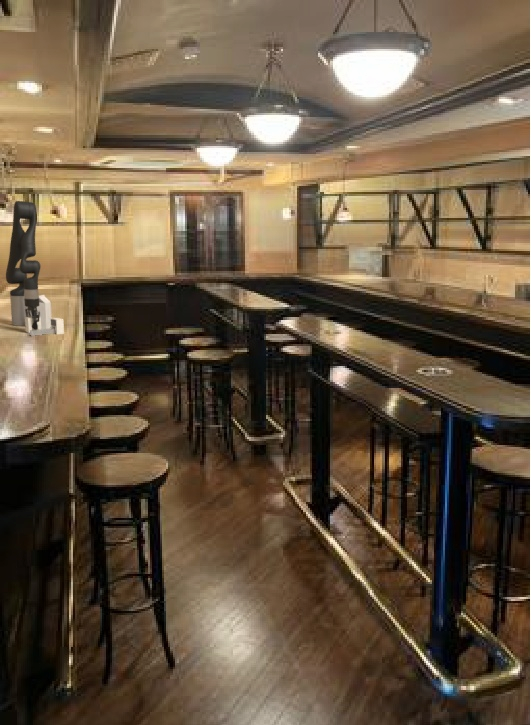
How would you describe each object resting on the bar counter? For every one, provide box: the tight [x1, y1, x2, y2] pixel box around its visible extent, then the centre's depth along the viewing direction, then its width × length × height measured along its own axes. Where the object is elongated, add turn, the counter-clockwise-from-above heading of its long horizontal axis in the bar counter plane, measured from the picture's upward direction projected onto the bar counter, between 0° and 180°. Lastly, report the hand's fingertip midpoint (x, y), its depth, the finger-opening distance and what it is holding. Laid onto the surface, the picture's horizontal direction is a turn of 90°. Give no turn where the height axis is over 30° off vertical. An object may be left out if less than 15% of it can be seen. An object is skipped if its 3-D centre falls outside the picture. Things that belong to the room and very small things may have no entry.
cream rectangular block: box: [24, 317, 41, 334], centre depth 340 cm, size 7×4×8 cm, turn 133°
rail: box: [29, 328, 56, 337], centre depth 335 cm, size 2×17×3 cm, turn 134°
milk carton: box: [37, 294, 53, 329], centre depth 353 cm, size 7×7×19 cm
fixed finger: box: [51, 317, 65, 335], centre depth 339 cm, size 7×4×8 cm, turn 44°
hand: (33, 328), depth 340 cm, fingers closed on cream rectangular block, 4 cm apart
